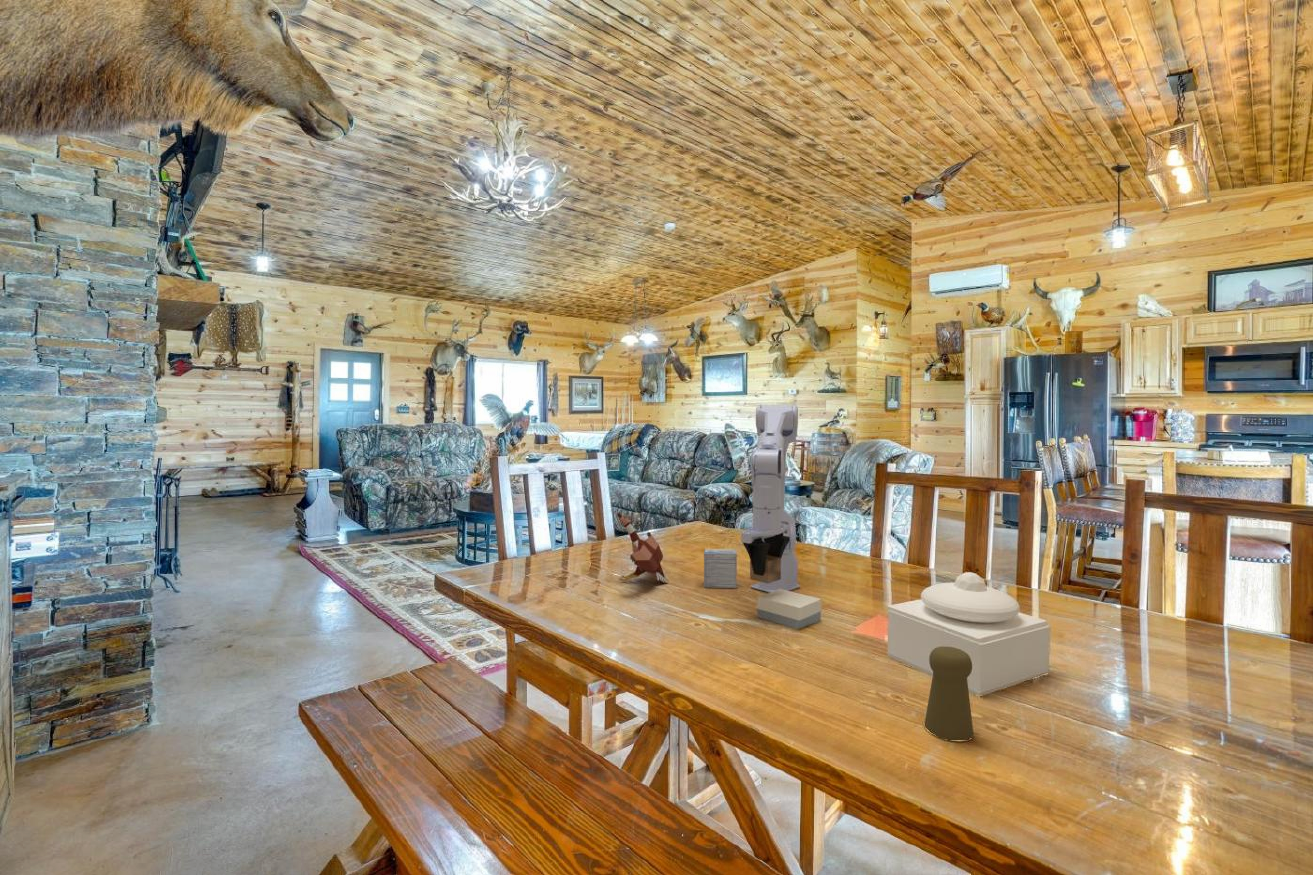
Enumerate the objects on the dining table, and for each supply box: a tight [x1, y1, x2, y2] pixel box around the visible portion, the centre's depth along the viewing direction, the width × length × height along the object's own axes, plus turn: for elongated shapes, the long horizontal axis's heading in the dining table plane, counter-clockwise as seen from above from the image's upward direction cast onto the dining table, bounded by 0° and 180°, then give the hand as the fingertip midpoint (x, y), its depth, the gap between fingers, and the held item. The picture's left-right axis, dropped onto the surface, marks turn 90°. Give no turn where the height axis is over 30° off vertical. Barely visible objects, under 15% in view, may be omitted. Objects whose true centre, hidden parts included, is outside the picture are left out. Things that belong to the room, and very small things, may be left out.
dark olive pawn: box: [924, 646, 975, 740], centre depth 83 cm, size 6×6×11 cm
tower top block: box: [757, 589, 822, 621], centre depth 127 cm, size 8×10×2 cm
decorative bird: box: [616, 511, 669, 585], centre depth 153 cm, size 28×18×15 cm, turn 172°
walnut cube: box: [749, 555, 781, 584], centre depth 128 cm, size 4×4×4 cm
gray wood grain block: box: [703, 548, 738, 589], centre depth 150 cm, size 8×4×9 cm, turn 84°
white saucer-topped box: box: [886, 571, 1051, 696], centre depth 104 cm, size 18×18×16 cm
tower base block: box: [756, 607, 822, 631], centre depth 127 cm, size 8×10×2 cm
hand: (766, 572), depth 128 cm, fingers closed on walnut cube, 4 cm apart
